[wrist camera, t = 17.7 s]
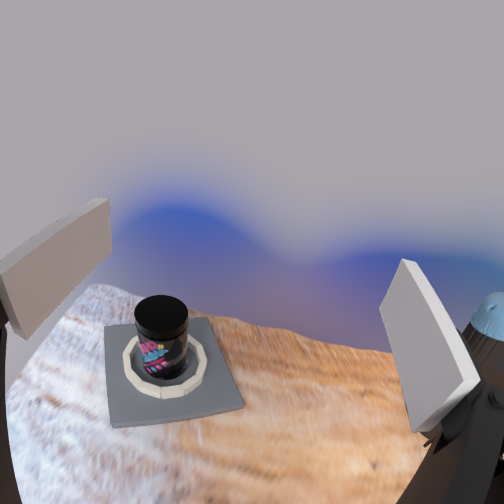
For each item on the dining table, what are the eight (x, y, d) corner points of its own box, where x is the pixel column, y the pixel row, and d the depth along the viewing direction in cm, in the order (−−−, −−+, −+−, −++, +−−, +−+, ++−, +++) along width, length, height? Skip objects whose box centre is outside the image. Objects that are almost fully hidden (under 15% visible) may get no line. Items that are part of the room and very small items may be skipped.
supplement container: (140, 348, 40) (133, 296, 35) (183, 345, 42) (184, 293, 37) (144, 384, 34) (134, 333, 29) (192, 380, 37) (193, 329, 32)
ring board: (206, 323, 50) (207, 310, 48) (242, 408, 36) (245, 397, 34) (105, 332, 42) (102, 319, 41) (113, 428, 28) (107, 418, 27)
